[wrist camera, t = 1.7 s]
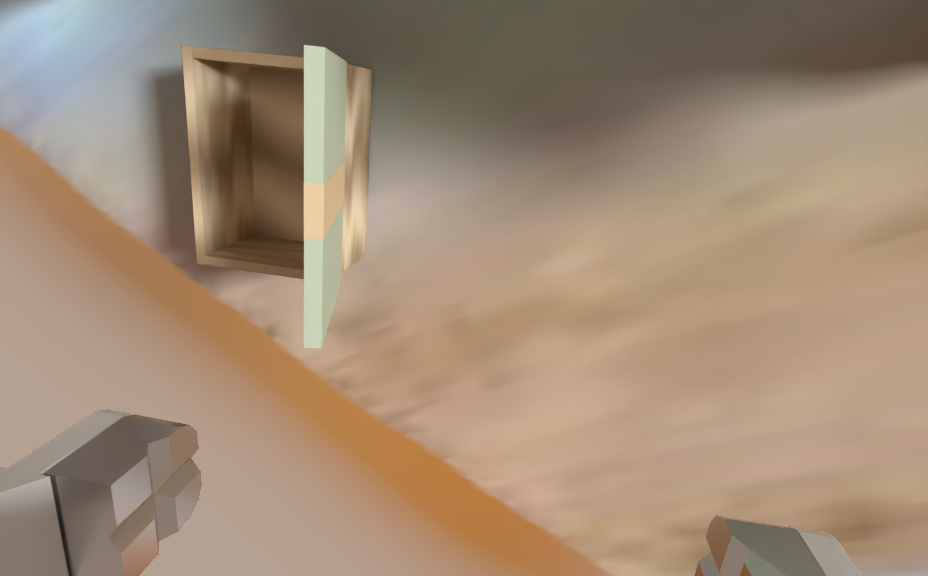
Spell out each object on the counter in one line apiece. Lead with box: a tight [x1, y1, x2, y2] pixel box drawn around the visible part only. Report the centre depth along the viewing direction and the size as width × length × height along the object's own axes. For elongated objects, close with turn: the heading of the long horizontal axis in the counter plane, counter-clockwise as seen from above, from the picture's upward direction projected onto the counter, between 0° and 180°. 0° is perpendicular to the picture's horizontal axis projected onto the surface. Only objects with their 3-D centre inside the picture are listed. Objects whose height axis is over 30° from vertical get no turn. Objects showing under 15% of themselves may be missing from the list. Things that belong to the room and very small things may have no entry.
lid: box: [304, 45, 347, 348], centre depth 27 cm, size 13×9×1 cm
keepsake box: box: [182, 45, 372, 279], centre depth 35 cm, size 13×9×7 cm
